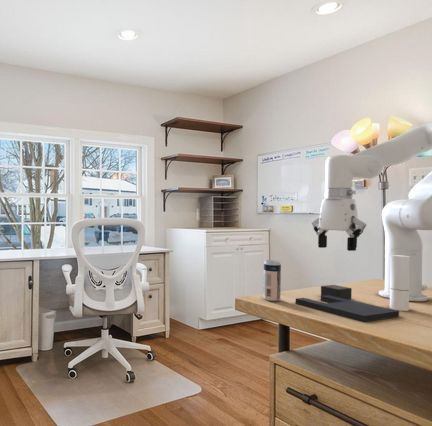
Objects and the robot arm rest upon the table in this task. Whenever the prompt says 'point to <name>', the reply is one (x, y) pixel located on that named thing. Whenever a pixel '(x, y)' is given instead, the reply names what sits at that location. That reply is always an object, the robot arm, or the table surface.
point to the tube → (399, 282)
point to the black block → (336, 291)
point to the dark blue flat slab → (349, 308)
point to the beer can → (272, 280)
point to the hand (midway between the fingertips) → (336, 249)
